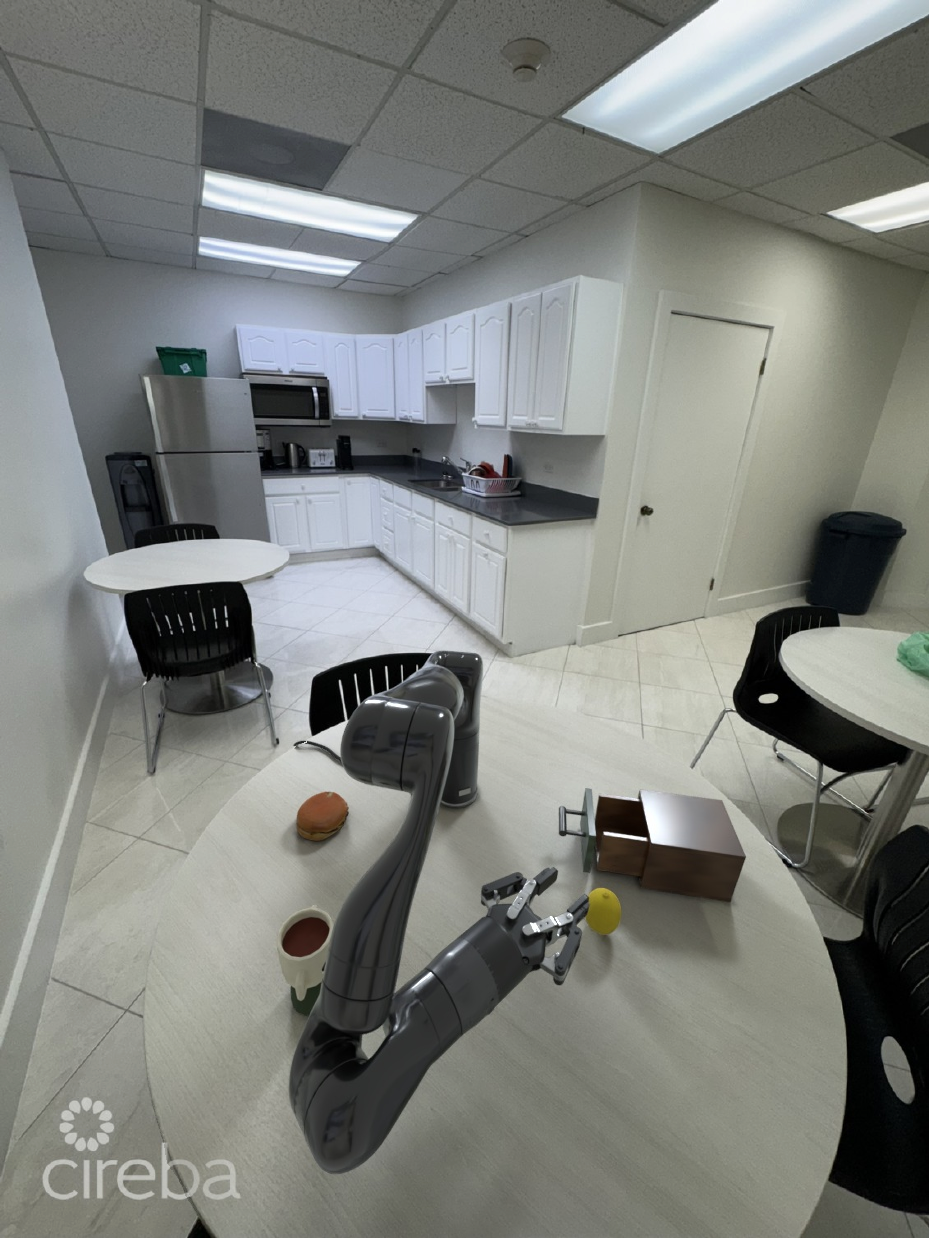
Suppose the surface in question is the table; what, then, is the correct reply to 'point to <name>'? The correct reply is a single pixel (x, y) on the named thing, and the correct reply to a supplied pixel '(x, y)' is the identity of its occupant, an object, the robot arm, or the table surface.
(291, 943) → the character mug
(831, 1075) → the table surface
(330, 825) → the burger
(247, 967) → the table surface
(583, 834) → the drawer
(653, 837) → the cabinet
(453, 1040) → the robot arm
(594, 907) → the lemon
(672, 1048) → the table surface
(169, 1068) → the table surface
